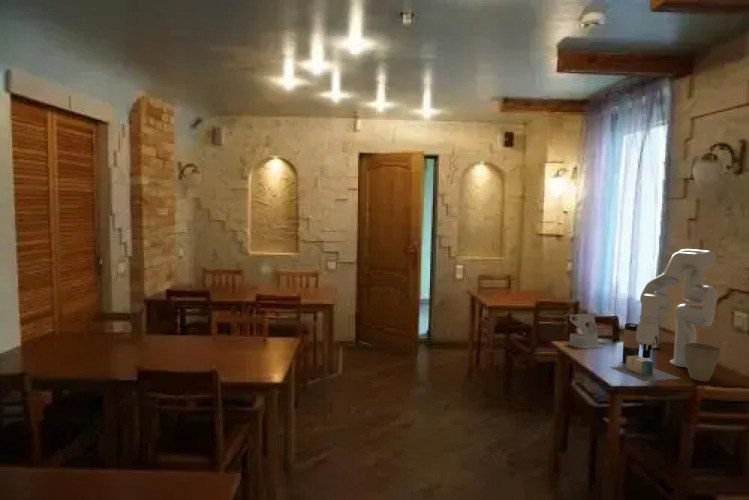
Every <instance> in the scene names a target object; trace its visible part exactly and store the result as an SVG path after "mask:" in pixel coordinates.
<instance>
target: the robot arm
mask: <svg viewBox="0 0 749 500" xmlns="http://www.w3.org/2000/svg"><path fill="white" fill-rule="evenodd" d="M716 256H717V255H716V254H715V253H714V251H712V250H707V249H706V250H704V249H694V248H684V249H683V248H682V249H679V251H677V252H674V253H673V254H672V255H671V257H670V259H669V261H668V262H667V265H666V266H665V269H664V270H663V272H662V274H660V275H658V276H656V277H655V278H653V279H651V280H650V281H649V282H647V283H646V285H645V286H644V288H643V290H642V292H641V295H640V297H639V299H640V303H641V305H640V307H641V308H640V316H639V321H638V323H637V324H638V326H637V331H636V341H638V343H639V344H640V346H641V349H642V354H641V355H642V356H641V357H642V358H645V359H650V358H651V351H652V350H653V349H657V348H658V345H659V344H658V341H659V339H660V329H659V328H660V327H659V324H658V322H659V310H669V309H670V308H671V307H672V306H673V304H674V300H673V298H672V296H671V295H669V294H666V293H661V292H660V293H659V292H657V291H659V290H660V289H663V288H666V287H667V288H668V287H670V286H675V285H678V284H679V283H680V282H681V280H682V278H683V276H684V278H683V283H682V289H681V299H682V300H683V301H686V302H689V303H690V304H689V303H681V304H680V303H679V304H678V305H677V306H676V307H675V312H674V317H675V335H674V346H673V347H674V350H673V358H672V359H670V360H669V363H670V365H673V366H676V367H681V368H687V364H686V359H685V350H684V344H685V343H697V334H698V333H697V329H696V327H695V325H698V326H704V327H708V326H709V327H710V326H711V325H712V324H713V322H714V318H715V313H716V307H717V302H718V291H717V289H716V287H714V286H712V285H707V284H703V282H704V273H703V270H706V269H710V268H712V267H713V266H714V265H715V263H716V260H717V257H716ZM691 303H695V304H691ZM697 304H700V305H697ZM701 304H702V306H701ZM657 344H658V345H657Z"/></svg>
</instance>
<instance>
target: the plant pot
mask: <svg viewBox="0 0 749 500" xmlns="http://www.w3.org/2000/svg"><path fill="white" fill-rule="evenodd" d="M684 350H685V359H686V364H687V367H686V368H687V371H688V375H689V378H690V379H693V380H695V381H699V382H700V381H701V382H709V381H710V379H711V377H712V375H713V373H714V372H715V369H716V367H717V364H718V360H719V358H720V353H721V351H722V350H721V348H720V347H719V346H716V345H711V344H707V343H700V342H696V343H685V344H684Z"/></svg>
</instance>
